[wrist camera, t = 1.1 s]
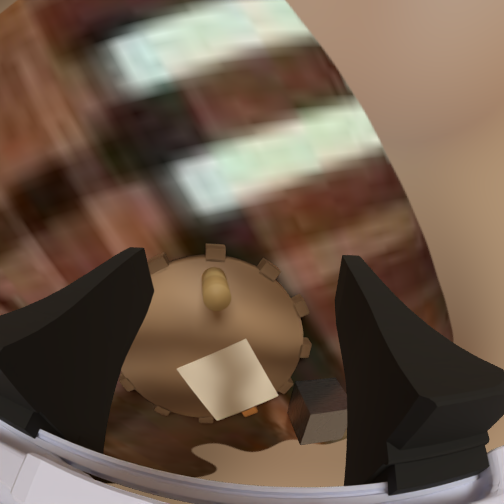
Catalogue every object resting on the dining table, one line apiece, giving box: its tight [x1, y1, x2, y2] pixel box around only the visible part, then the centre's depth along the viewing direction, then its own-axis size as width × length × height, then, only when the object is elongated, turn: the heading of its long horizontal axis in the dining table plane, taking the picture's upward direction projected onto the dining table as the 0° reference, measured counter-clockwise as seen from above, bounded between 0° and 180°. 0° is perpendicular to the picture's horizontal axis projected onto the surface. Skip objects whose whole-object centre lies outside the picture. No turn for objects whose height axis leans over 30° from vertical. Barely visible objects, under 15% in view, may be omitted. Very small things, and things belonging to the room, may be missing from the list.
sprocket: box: [119, 244, 312, 423], centre depth 24 cm, size 18×18×5 cm
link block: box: [287, 378, 347, 445], centre depth 28 cm, size 4×4×5 cm
